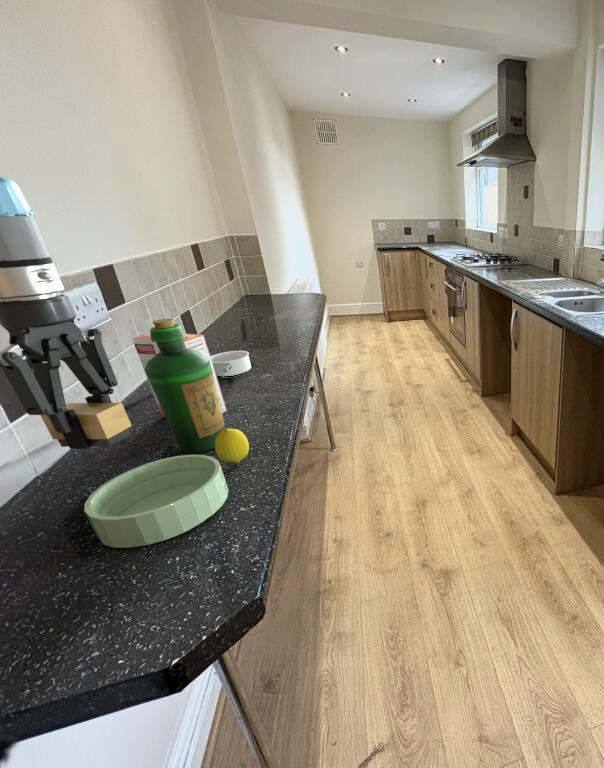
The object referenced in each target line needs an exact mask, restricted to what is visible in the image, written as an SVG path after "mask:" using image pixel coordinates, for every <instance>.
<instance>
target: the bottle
mask: <svg viewBox="0 0 604 768" xmlns="http://www.w3.org/2000/svg"><path fill="white" fill-rule="evenodd" d="M151 323H152V325H154V326H153V327H150V328H149V333H150V335H151V341H152V342H156V344H157V346H158V348H159V350H160V352H159V353H158V354H156V355H155V356H154V357H153V358H152V359H150V360H149V361H148V363H147V365H146V367H145V369H144V368H143V371H144V374H145V373H146V374H145V375H147V376H146V378H147V377H148V379H149V382H150V384H151V386H152V388H153V390H154V393H155V395H156V397H157V399H158V401H159V403H160V406H161V408H162V410H163V412H164V414H165V416H166V417H165V418H166V421H167V423H168V425H169V427H170V430H171V431H172V434H173V436H174V438H175V441H176V443H177V444H178V447H179V449H180V450H181V451H182V453H190V454H196V453H197V454H198V453H204V452H208V451H210V450H213V449H215V440H216V437H217V436H218V434H219V433H221V432H222V431H224V430H225V429H226V424H225V420H224V415H223V414H222V411H221V407H220V403H219V398H218V394H217V390H216V385H215V381H214V377H213V372H212V368H211V364H210V360H209V359H208V358H207V357H205V356H204V355H203V354H201V353H200V352H198V351H195V350H192V349H189V348H185V345H184V340H183V338H184V337H185V336H186V335H185V334H186V333H185V332H184V330H183V328H182V327H181V325H180V324H177V323H175V322H174V318H160V319H155V320H152V322H151ZM148 379H147V380H148ZM149 382H148V383H149ZM150 384H149V385H150Z"/></svg>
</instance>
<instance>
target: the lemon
mask: <svg viewBox="0 0 604 768" xmlns="http://www.w3.org/2000/svg"><path fill="white" fill-rule="evenodd" d="M225 428H226V427H225ZM214 449H215V452H216V455H217V456H218V458H219V459H220V460H222V461H223V462H225V463H231V464H239V463H240V462H241V461H242V460H244V459H245V458H246V457H247V456H248V454H249V451H250V443H249V440H248V438H247V437H246V435H245V433H244V432H242V430H240V429H237V428H229V427H227V428H226V429H225V430H224V431H222V432H221V433H219V434H218V436H217V437H216V440H215V448H214Z"/></svg>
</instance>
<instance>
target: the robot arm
mask: <svg viewBox="0 0 604 768" xmlns="http://www.w3.org/2000/svg"><path fill="white" fill-rule="evenodd" d="M64 290H65V287H64V285H63V282H62V280H61V278H60V275H59V274H58V270H57V268H56V266H55V264H54V262H53V259H52V258H51V255H50V253H49V250H48V248H47V245H46V243H45V241H44V238H43V235H42V234H41V231H40V229H39V227H38V224H37V222H36V219H35V217H34V211H33V209H32V208H31V207H30V205H29V204H28V202H27V200H26V198H25V196H24V195H23V192H22V191H21V189H20V187H19V185H18V184H17V183H16V182H15V181H13V180H11V179H10V178H7V177H4V176H0V326H1V327H2V328H4V329H5V330H6V331H7V333H8V335H9V339H8V343H9V345H8V346H7V347H5V348H4V349H3V350H1V351H0V368H1V369H2V371H3V373H4V375H5V377H6V378H7V381H8V382H9V384H10V385H11V387H12V389H13V391H14V393H15V394H16V396H17V398H18V400H19V401H20V403H21V405H22V407H23V409H24V411H25V412H26V414H27V415H29V416H41V415H47V416H48V417H49V419H50V421H51V423H52V425H53V427H54V429H55V431H57V432H58V433H63V435H64V437H65V439H66V441H67V443H68V445H69V447H68V448H69V449H71V450H73V449H74V450H75V449H76V450H78V449H79V450H82V449H84V450H87V449H89V448H92V447H91V444H90V442H89V440H88V438H87V436H86V434H85V432H84V430H83V428H82V426H81V424H80V422H79V420H78V418H77V415H76V413H75V411H74V410H67V408H66V404H67V403H66V399H65V394H64V390H63V389H64V388H63V384H62V380H61V375H60V370H59V368H60V367H62V363H61V361H62V362H63V363H65V365H66V366H67V367H68V369H69V370H70V371H71V373H72V374H73V375H74V376H75V377H76V379H77V380H78V381H79V383H80V384H81V385H82V387H83V388H84V389H85V390H86V392H87V393H88V394H89V396H86V397H84V400H85V401H86V403H113V402H112V399H111V397H110V395H112V394H114V391H115V390H114V388H113V387H117V386H118V384H119V383H118V382H119V381H118V380H117V377H116V375H115V372H114V369H113V367H112V364H111V362H110V360H109V359H110V358H109V357H108V355H107V352H106V350H105V346H104V345H103V338H102V337H103V335H102V330H101V329H100V328H82V327H81V326H80V325H79V324H77V323H76V322H75V319H76V318H77V314H76V312H75V309H74V307H73V304H72V302H71V300H70V298H69V296H67V295H66V294H63V293H61V292H63V291H64ZM26 360H27V361H26Z"/></svg>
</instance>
